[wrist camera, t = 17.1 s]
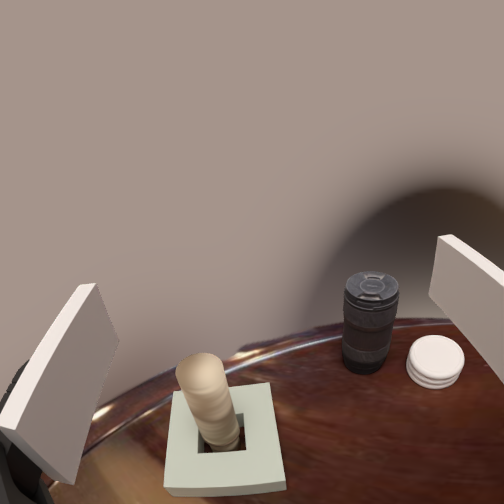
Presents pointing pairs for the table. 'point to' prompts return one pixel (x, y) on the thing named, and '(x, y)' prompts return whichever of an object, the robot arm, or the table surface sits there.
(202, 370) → the leg
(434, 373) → the coaster
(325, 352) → the table surface
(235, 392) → the board
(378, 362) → the camera lens
